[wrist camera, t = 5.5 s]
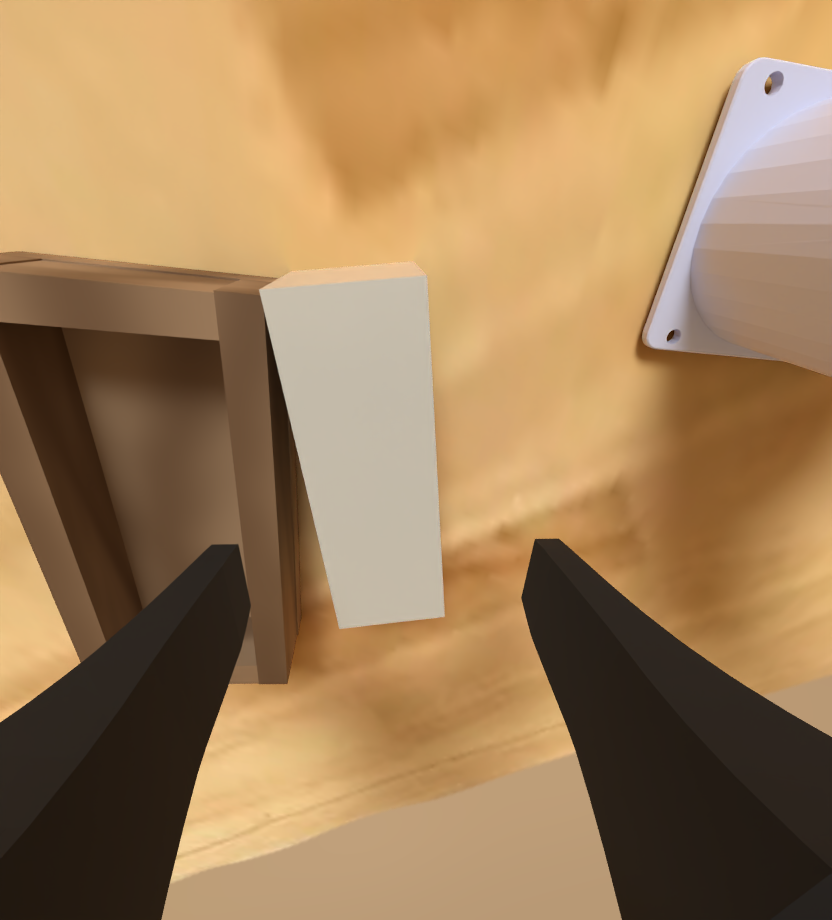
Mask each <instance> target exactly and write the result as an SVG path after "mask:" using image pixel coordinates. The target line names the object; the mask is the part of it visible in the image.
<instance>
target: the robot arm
mask: <svg viewBox="0 0 832 920" xmlns="http://www.w3.org/2000/svg"><path fill="white" fill-rule="evenodd" d="M768 77H771V80H772V86H771V90H770V91H769V93H768V95H767V94H766V93H765V90H764V86H765V82H766V80H767V78H768ZM672 330H674V336H673V337H672V339H670V340H669V341H667V335H668V334H669V332H671V331H672ZM642 340H643V343H644V344H645V345H646V346H648V347H650V348H653V349H659V350H670V351H680V352H691V353H702V354H712V355H723V356H733V357H744V358H755V359H765V360H776V361H785V362H788V363H791V364H794V365H797V366H800V367H803V368H806V369H809V370H812V371H815V372H818V373H820V374H823V375H826V376H829V377H832V70H830V69H824V68H819V67H814V66H809V65H804V64H798V63H793V62H788V61H783V60H778V59H772V58H767V57H763V58H757V59H755V60H753V61H750V62H749V63H747V64H745V65H743V66H742V68H741V69H740V70H739V71H738V72H737V74H736V76H735V78H734V79H733V82H732V84H731V87H730V90H729V93H728V96H727V98H726V101H725V104H724V107H723V109H722V112H721V115H720V118H719V121H718V123H717V126H716V129H715V132H714V135H713V137H712V140H711V143H710V146H709V149H708V151H707V154H706V157H705V160H704V163H703V165H702V168H701V171H700V174H699V176H698V179H697V182H696V185H695V188H694V190H693V193H692V196H691V199H690V202H689V204H688V207H687V210H686V213H685V216H684V218H683V221H682V224H681V227H680V229H679V232H678V235H677V238H676V241H675V243H674V246H673V249H672V252H671V255H670V257H669V260H668V263H667V266H666V269H665V271H664V274H663V277H662V280H661V283H660V285H659V288H658V291H657V294H656V296H655V299H654V302H653V305H652V308H651V310H650V313H649V316H648V319H647V322H646V324H645V327H644V330H643V334H642ZM521 598H522V602H523V606H524V610H525V614H526V618H527V622H528V626H529V629H530V633H531V637H532V639H533V642H534V644H535V647H536V650H537V652H538V655H539V657H540V660H541V662H542V665H543V668H544V670H545V673H546V675H547V678H548V680H549V683H550V685H551V688H552V690H553V693H554V695H555V698H556V700H557V703H558V705H559V708H560V710H561V713H562V715H563V718H564V720H565V723H566V725H567V728H568V731H569V733H570V736H571V739H572V742H573V745H574V747H575V750H576V754H577V757H578V760H579V764H580V767H581V770H582V773H583V777H584V780H585V784H586V787H587V790H588V794H589V797H590V801H591V804H592V808H593V811H594V815H595V818H596V822H597V826H598V829H599V833H600V837H601V840H602V844H603V847H604V851H605V855H606V859H607V863H608V867H609V871H610V874H611V878H612V882H613V886H614V890H615V894H616V898H617V902H618V906H619V910H620V913H621V918H622V920H832V737H830V736H829V735H827V734H825V733H823V732H822V731H820V730H818V729H816V728H815V727H813V726H811V725H809V724H808V723H806V722H804V721H802V720H801V719H799V718H797V717H796V716H794V715H792V714H790V713H789V712H787V711H785V710H784V709H782V708H780V707H779V706H777V705H775V704H774V703H772V702H771V701H769V700H767V699H766V698H764V697H763V696H761V695H759V694H758V693H756V692H755V691H753V690H751V689H750V688H748V687H746V686H745V685H743V684H742V683H740V682H739V681H737V680H736V679H734V678H733V677H731V676H730V675H728V674H726V673H725V672H723V671H722V670H721V669H719V668H718V667H716V666H715V665H713V664H712V663H711V662H709V661H708V660H706V659H705V658H703V657H702V656H700V655H699V654H698V653H696V652H695V651H693V650H692V649H690V648H689V647H688V646H686V645H685V644H684V643H682V642H681V641H679V640H678V639H677V638H675V637H674V636H673V635H672V634H670V633H669V632H668V631H666V630H665V629H664V628H663V627H661V626H660V625H659V624H657V623H656V622H655V621H654V620H652V619H651V618H650V617H648V616H647V615H646V614H645V613H644V612H642V611H641V610H640V609H639V608H637V607H636V606H635V605H634V604H633V603H631V602H630V601H629V600H628V599H627V598H625V597H624V596H623V595H622V594H621V593H620V592H618V591H617V590H616V589H615V588H614V587H613V586H612V585H610V584H609V583H608V582H607V581H606V580H605V579H604V578H602V577H601V576H600V575H599V574H598V573H597V572H596V571H595V570H593V569H592V568H591V567H590V566H589V565H588V564H587V563H586V562H585V561H583V560H582V559H581V558H580V557H579V556H578V555H577V554H576V553H574V552H573V551H572V550H571V549H570V548H569V547H568V546H567V545H565V544H564V543H563V542H562V541H561V540H559V539H535V541H534V546H533V550H532V554H531V559H530V563H529V567H528V572H527V576H526V580H525V584H524V589H523V593H522V597H521ZM250 608H251V603H250V598H249V593H248V588H247V583H246V579H245V574H244V569H243V564H242V559H241V554H240V549H239V545H238V544H214V545H211V546H210V547H209V548H207V549H206V550H205V551H204V552H203V553H202V554H201V555H200V556H199V557H198V558H197V559H196V560H195V561H194V562H193V563H192V564H190V565H189V566H188V567H187V568H186V569H185V570H184V571H183V572H182V573H181V574H180V575H179V576H178V577H177V578H176V579H175V580H174V581H173V582H172V583H171V584H170V585H169V586H168V587H167V588H166V589H164V590H163V591H162V592H161V593H160V594H159V595H158V596H157V597H156V598H155V599H154V600H153V601H152V602H150V603H149V604H148V605H147V606H146V607H145V608H144V609H143V610H142V611H141V612H140V613H139V614H138V615H136V616H135V617H134V618H133V619H132V620H131V621H130V622H129V623H127V624H126V625H125V626H124V627H123V628H122V629H120V630H119V631H118V632H117V633H116V634H115V635H113V636H112V637H111V638H110V639H109V640H108V641H106V642H105V643H104V644H103V645H102V646H101V647H100V648H98V649H97V650H96V651H95V652H94V653H92V654H91V655H90V656H89V657H88V658H86V659H85V660H84V661H83V662H81V663H80V664H79V665H78V666H76V667H75V668H74V669H72V670H71V671H70V672H69V673H67V674H66V675H65V676H64V677H62V678H61V679H60V680H58V681H57V682H56V683H54V684H53V685H52V686H50V687H49V688H48V689H46V690H45V691H44V692H42V693H41V694H40V695H38V696H37V697H36V698H34V699H33V700H32V701H30V702H29V703H27V704H26V705H25V706H23V707H22V708H21V709H19V710H18V711H16V712H15V713H13V714H12V715H10V716H9V717H8V718H6V719H5V720H3V721H2V722H0V920H161V918H162V914H163V909H164V905H165V900H166V896H167V892H168V888H169V884H170V880H171V876H172V871H173V867H174V863H175V859H176V855H177V851H178V847H179V843H180V839H181V835H182V831H183V827H184V823H185V819H186V816H187V812H188V808H189V804H190V800H191V797H192V793H193V789H194V785H195V781H196V778H197V774H198V771H199V768H200V764H201V761H202V758H203V755H204V752H205V749H206V746H207V743H208V740H209V738H210V735H211V732H212V729H213V727H214V724H215V721H216V718H217V715H218V713H219V710H220V707H221V704H222V702H223V699H224V696H225V693H226V690H227V688H228V685H229V682H230V679H231V676H232V674H233V671H234V668H235V665H236V662H237V659H238V657H239V654H240V651H241V648H242V644H243V640H244V635H245V631H246V627H247V622H248V618H249V613H250Z"/></svg>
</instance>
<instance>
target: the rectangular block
mask: <svg viewBox="0 0 832 920" xmlns="http://www.w3.org/2000/svg"><path fill="white" fill-rule="evenodd" d="M259 292H260V296H261V300H262V304H263V308H264V313H265V317H266V321H267V325H268V330H269V334H270V338H271V342H272V346H273V351H274V355H275V359H276V363H277V367H278V372H279V376H280V380H281V384H282V389H283V393H284V397H285V401H286V405H287V410H288V414H289V418H290V422H291V427H292V431H293V435H294V439H295V443H296V448H297V452H298V456H299V460H300V464H301V469H302V473H303V477H304V481H305V486H306V490H307V494H308V498H309V502H310V507H311V511H312V515H313V519H314V524H315V528H316V532H317V536H318V540H319V545H320V549H321V553H322V557H323V561H324V566H325V570H326V574H327V578H328V583H329V587H330V591H331V595H332V599H333V604H334V608H335V612H336V616H337V621H338V625H339V629H343V628H352V627H360V626H369V625H378V624H386V623H395V622H404V621H413V620H421V619H430V618H439V617H445V613H444V594H443V575H442V555H441V536H440V517H439V497H438V478H437V459H436V440H435V420H434V401H433V382H432V362H431V343H430V324H429V304H428V285H427V275H426V274H425V273H424V272H423V271H422V270H421V269H420V268H419V267H418V265H417V264H416V263H415V262H414V261H410V262H398V263H386V264H374V265H362V266H350V267H338V268H326V269H314V270H302V271H291V272H289V273H287V274H286V275H284V276H282V277H280V278H279V279H277V280H275V281H273V282H272V283H270V284H268V285H266V286H265V287H263V288H261V289H259Z"/></svg>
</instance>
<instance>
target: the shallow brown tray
mask: <svg viewBox="0 0 832 920" xmlns="http://www.w3.org/2000/svg"><path fill="white" fill-rule="evenodd" d="M277 279H279V278H269V277H260V276H250V275H240V274H231V273H221V272H212V271H202V270H192V269H183V268H173V267H164V266H154V265H144V264H135V263H125V262H115V261H106V260H96V259H87V258H77V257H67V256H58V255H48V254H39V253H29V252H6V253H0V474H1V476H2V478H3V481H4V483H5V485H6V488H7V490H8V492H9V495H10V497H11V499H12V502H13V504H14V506H15V509H16V511H17V514H18V516H19V518H20V521H21V523H22V525H23V528H24V530H25V532H26V535H27V537H28V539H29V542H30V544H31V546H32V549H33V551H34V553H35V556H36V558H37V561H38V563H39V565H40V568H41V570H42V572H43V575H44V577H45V579H46V582H47V584H48V586H49V589H50V591H51V593H52V596H53V598H54V601H55V603H56V605H57V608H58V610H59V612H60V615H61V617H62V619H63V622H64V624H65V626H66V629H67V631H68V633H69V636H70V638H71V640H72V643H73V645H74V648H75V650H76V652H77V655H78V657H79V659H80V662H83V661H84V660H85V659H86V658H88V657H89V656H90V655H91V654H92V653H94V652H95V651H96V650H97V649H98V648H100V647H101V646H102V645H103V644H104V643H105V642H106V641H108V640H109V639H110V638H111V637H112V636H113V635H115V634H116V633H117V632H118V631H119V630H120V629H122V628H123V627H124V626H125V625H126V624H127V623H129V622H130V621H131V620H132V619H133V618H134V617H135V616H136V615H138V614H139V613H140V612H141V611H142V610H143V609H144V608H145V607H146V606H147V605H148V604H149V603H150V602H152V601H153V600H154V599H155V598H156V597H157V596H158V595H159V594H160V593H161V592H162V591H163V590H164V589H166V588H167V587H168V586H169V585H170V584H171V583H172V582H173V581H174V580H175V579H176V578H177V577H178V576H179V575H180V574H181V573H182V572H183V571H184V570H185V569H186V568H187V567H188V566H189V565H190V564H192V563H193V562H194V561H195V560H196V559H197V558H198V557H199V556H200V555H201V554H202V553H203V552H204V551H205V550H206V549H207V548H209V547H210V546H211V545H214V544H238V545H239V549H240V554H241V559H242V564H243V569H244V574H245V579H246V583H247V588H248V593H249V598H250V603H251V608H250V613H249V618H248V622H247V627H246V631H245V635H244V640H243V644H242V648H241V651H240V654H239V657H238V659H237V662H236V665H235V668H234V671H233V674H232V676H231V679H230V682H229V684H252V683H259V684H287V683H288V678H289V673H290V668H291V663H292V658H293V653H294V648H295V642H296V637H297V635H298V632H299V627H300V622H301V598H300V568H299V538H298V509H297V479H296V449H295V439H294V435H293V431H292V427H291V422H290V418H289V414H288V410H287V405H286V401H285V397H284V393H283V389H282V384H281V380H280V376H279V372H278V367H277V363H276V359H275V355H274V351H273V346H272V342H271V338H270V334H269V330H268V325H267V321H266V317H265V313H264V308H263V304H262V300H261V296H260V292H259V289H261V288H263V287H265V286H266V285H268V284H270V283H272V282H273V281H275V280H277Z"/></svg>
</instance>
